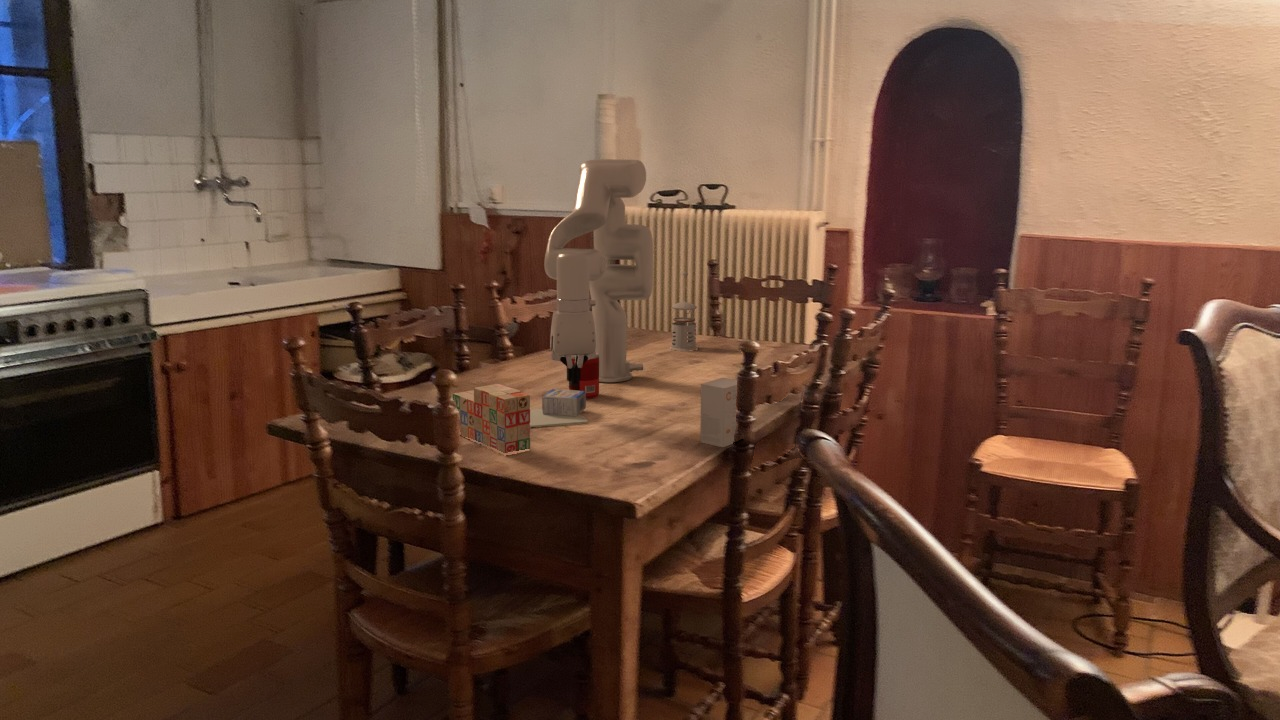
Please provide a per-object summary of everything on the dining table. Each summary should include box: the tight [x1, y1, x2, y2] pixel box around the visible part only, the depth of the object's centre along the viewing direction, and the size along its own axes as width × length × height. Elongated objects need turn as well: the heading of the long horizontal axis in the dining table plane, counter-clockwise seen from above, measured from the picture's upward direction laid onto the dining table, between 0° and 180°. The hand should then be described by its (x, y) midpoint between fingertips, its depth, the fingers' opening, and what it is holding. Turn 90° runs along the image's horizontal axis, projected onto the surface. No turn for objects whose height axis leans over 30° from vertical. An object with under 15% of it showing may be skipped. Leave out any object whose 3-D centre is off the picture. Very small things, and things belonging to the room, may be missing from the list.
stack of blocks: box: [452, 383, 531, 453], centre depth 200 cm, size 21×6×12 cm, turn 40°
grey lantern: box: [669, 271, 699, 352], centre depth 305 cm, size 10×12×25 cm
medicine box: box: [541, 388, 587, 416], centre depth 225 cm, size 8×4×9 cm
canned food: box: [568, 352, 600, 400], centre depth 242 cm, size 8×8×11 cm
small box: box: [699, 377, 738, 448], centre depth 202 cm, size 8×6×13 cm
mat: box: [530, 408, 589, 428], centre depth 220 cm, size 18×14×1 cm
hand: (573, 383), depth 221 cm, fingers closed
